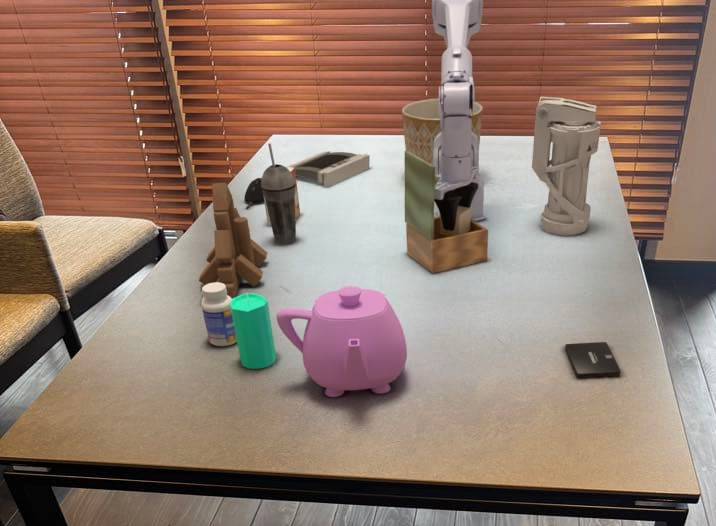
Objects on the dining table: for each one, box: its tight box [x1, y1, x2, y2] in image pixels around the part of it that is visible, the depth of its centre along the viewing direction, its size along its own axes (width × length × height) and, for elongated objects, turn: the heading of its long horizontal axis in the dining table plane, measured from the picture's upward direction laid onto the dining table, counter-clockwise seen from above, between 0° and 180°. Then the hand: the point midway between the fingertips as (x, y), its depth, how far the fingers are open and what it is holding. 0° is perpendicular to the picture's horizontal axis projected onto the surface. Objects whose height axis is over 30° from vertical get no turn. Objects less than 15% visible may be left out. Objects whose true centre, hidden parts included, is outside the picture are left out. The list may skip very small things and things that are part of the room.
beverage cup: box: [261, 143, 297, 246], centre depth 166 cm, size 7×7×20 cm
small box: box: [260, 166, 301, 226], centre depth 179 cm, size 8×6×10 cm
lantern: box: [531, 96, 602, 236], centre depth 165 cm, size 13×10×25 cm
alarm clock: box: [287, 151, 370, 188], centre depth 206 cm, size 17×5×16 cm
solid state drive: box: [564, 341, 621, 379], centre depth 129 cm, size 7×10×1 cm
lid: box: [404, 150, 435, 240], centre depth 153 cm, size 13×12×1 cm
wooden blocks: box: [198, 182, 268, 302], centre depth 154 cm, size 25×12×18 cm, turn 2°
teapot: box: [275, 285, 408, 398], centre depth 122 cm, size 20×20×15 cm
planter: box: [401, 97, 484, 186], centre depth 194 cm, size 19×19×16 cm
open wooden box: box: [405, 216, 489, 274], centre depth 161 cm, size 13×12×6 cm
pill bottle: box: [200, 281, 237, 347], centre depth 136 cm, size 5×5×10 cm
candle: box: [230, 292, 277, 370], centre depth 130 cm, size 6×6×12 cm
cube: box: [440, 206, 471, 236], centre depth 159 cm, size 4×4×4 cm
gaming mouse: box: [244, 177, 265, 210], centre depth 193 cm, size 6×15×4 cm, turn 165°
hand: (455, 225), depth 160 cm, fingers closed on cube, 4 cm apart
